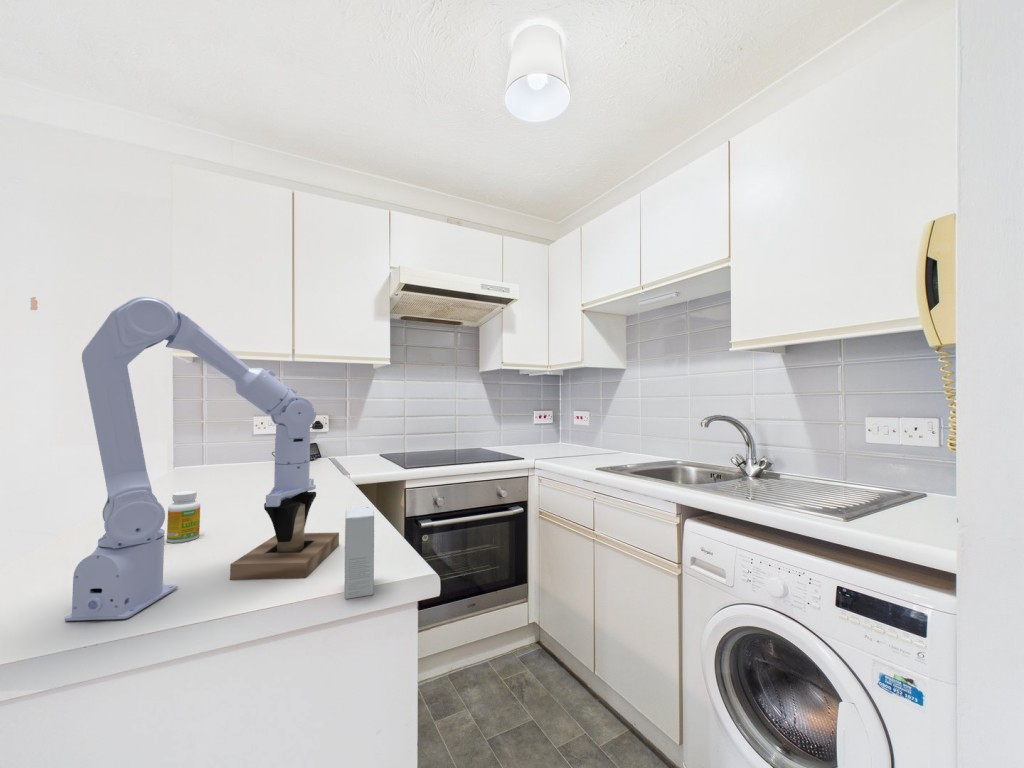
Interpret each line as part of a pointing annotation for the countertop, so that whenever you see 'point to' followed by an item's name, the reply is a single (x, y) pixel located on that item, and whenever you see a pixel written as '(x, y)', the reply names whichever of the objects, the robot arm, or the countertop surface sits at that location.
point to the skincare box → (359, 552)
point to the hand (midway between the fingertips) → (290, 536)
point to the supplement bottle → (183, 517)
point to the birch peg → (295, 534)
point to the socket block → (284, 559)
